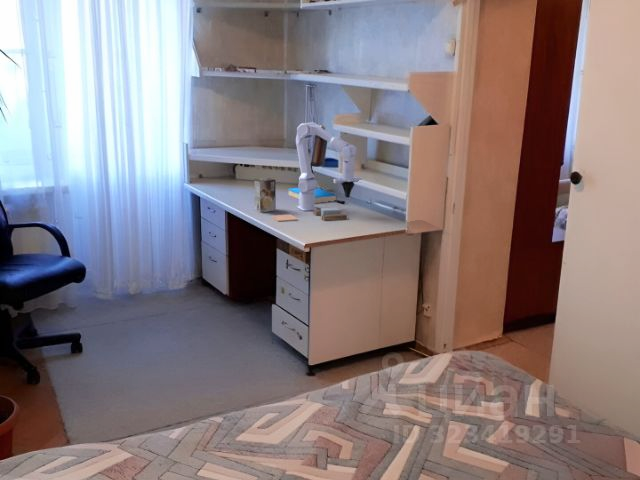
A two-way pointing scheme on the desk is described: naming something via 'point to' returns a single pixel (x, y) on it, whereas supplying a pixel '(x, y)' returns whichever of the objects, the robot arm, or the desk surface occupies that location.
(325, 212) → the block
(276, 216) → the tile
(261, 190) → the coffee box
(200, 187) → the desk surface
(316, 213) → the pair of brown bars
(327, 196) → the book
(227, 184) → the desk surface
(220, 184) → the desk surface
